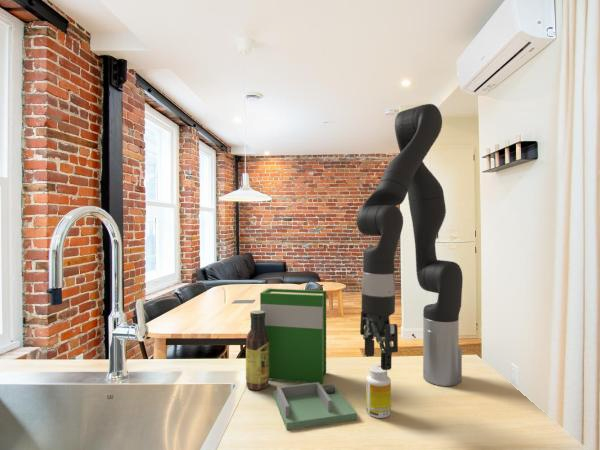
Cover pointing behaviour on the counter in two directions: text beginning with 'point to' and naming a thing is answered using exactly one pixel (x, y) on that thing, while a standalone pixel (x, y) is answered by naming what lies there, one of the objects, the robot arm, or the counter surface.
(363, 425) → the counter surface
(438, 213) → the robot arm
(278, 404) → the green plate with knob
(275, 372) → the hardback book
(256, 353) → the sauce bottle
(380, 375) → the supplement bottle
